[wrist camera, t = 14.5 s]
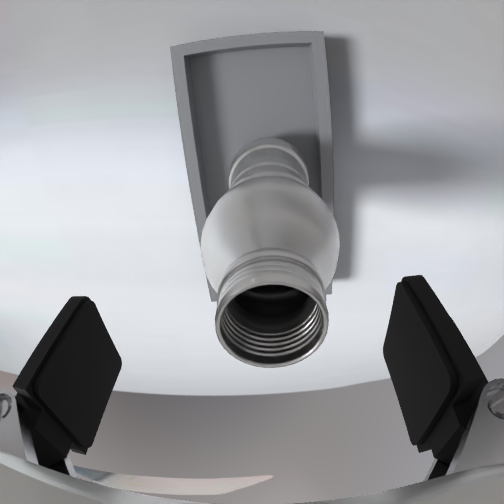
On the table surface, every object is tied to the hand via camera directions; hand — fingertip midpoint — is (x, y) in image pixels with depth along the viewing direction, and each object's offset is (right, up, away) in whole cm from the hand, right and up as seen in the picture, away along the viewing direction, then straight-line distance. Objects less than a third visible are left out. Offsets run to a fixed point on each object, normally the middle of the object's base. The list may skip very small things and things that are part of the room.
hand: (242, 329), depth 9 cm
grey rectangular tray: (+1, +9, +19) cm, 21 cm away
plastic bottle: (+2, +9, +18) cm, 21 cm away
